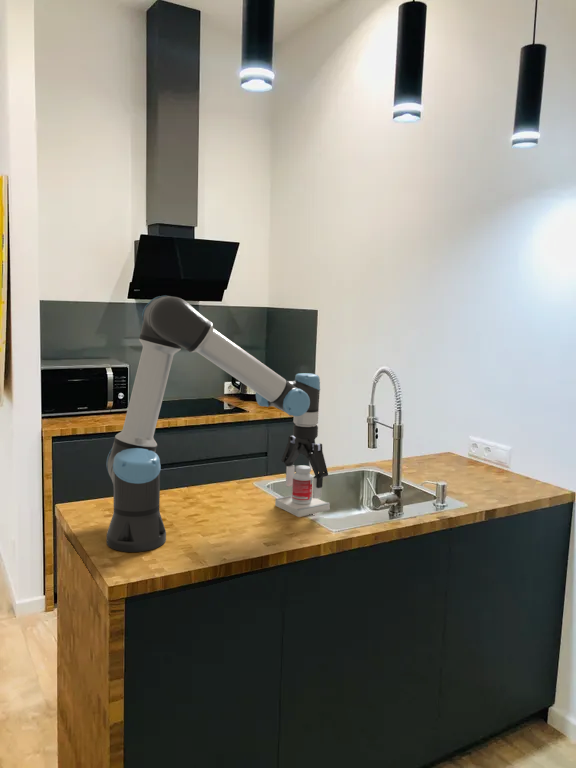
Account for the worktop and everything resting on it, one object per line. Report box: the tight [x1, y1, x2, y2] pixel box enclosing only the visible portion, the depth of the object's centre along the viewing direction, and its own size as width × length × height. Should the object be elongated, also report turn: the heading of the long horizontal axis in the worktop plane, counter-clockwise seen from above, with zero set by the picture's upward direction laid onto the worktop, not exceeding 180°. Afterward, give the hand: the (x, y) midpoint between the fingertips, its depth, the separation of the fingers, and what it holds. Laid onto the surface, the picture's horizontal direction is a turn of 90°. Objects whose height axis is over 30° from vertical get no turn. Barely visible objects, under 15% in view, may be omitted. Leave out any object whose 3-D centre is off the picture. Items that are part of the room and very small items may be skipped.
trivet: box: [274, 494, 331, 518], centre depth 197 cm, size 12×12×2 cm
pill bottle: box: [291, 464, 314, 504], centre depth 196 cm, size 6×6×11 cm
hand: (302, 491), depth 197 cm, fingers open, 13 cm apart
